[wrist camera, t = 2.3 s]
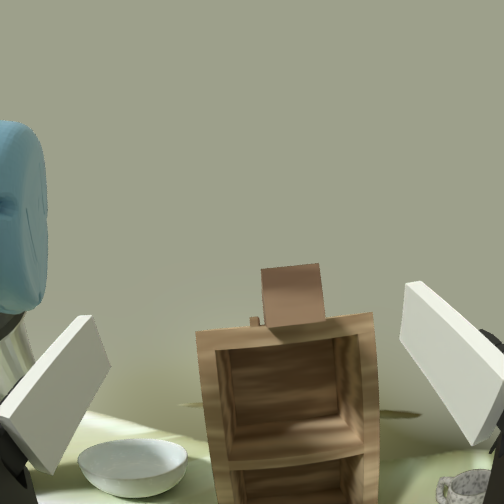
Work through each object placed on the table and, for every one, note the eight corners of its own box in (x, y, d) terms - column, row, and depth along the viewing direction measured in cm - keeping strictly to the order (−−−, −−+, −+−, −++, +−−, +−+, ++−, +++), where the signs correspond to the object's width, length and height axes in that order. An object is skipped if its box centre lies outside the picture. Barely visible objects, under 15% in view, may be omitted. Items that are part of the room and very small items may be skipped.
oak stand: (374, 537, 24) (371, 302, 30) (228, 556, 24) (194, 321, 31) (349, 491, 37) (339, 308, 44) (237, 505, 38) (215, 321, 44)
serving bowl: (161, 457, 58) (157, 431, 59) (215, 491, 43) (209, 460, 44) (75, 472, 44) (68, 444, 45) (104, 521, 29) (93, 487, 30)
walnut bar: (325, 320, 21) (318, 263, 22) (266, 328, 21) (261, 269, 22) (292, 321, 44) (289, 293, 45) (264, 324, 44) (262, 296, 45)
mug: (497, 513, 17) (508, 475, 19) (463, 541, 16) (474, 502, 18) (451, 494, 27) (456, 459, 28) (417, 514, 26) (421, 479, 27)
